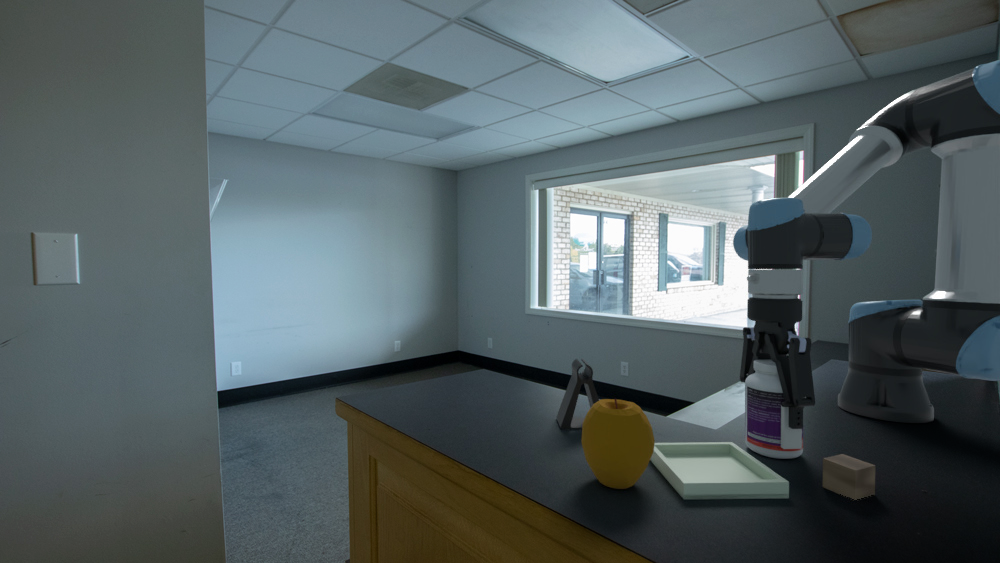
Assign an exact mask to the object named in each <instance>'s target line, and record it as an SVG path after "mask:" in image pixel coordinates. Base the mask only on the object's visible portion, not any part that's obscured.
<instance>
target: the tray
mask: <svg viewBox="0 0 1000 563" xmlns="http://www.w3.org/2000/svg"><path fill="white" fill-rule="evenodd" d="M650 462H651V463H652V464H653V465H654V467H656V469H657V470H658V471H659V472H660V473H661V475H662V476H663V477H664V478H665V480H667V482H668V483H669V484H670V485H671V487H673V489H674V490H675V491H676V492H677V494H678V495H679V496H680V497H681V498H682V499H683V500H753V499H754V500H755V499H756V500H757V499H759V500H760V499H764V500H765V499H766V500H767V499H768V500H769V499H771V500H772V499H790V482H789V480H787V479H786V478H784V477H782V476H781V475H779V474H778V473H777V472H775V471H774V470H772V469H771V468H770V467H769V466H767V465H766V464H764V463H762V462H761V461H760V460H759V459H757V458H755V457H754V456H753V455H751V454H750V453H748V452H747V451H746V450H744V449H743V448H742V447H740V446H738V445H737V444H736V443H734V442H732V441H721V442H719V441H718V442H717V441H716V442H715V441H714V442H713V441H712V442H701V441H700V442H696V441H695V442H655V444H654V452H653V454H652V456H651V459H650Z"/></svg>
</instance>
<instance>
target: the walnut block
mask: <svg viewBox="0 0 1000 563" xmlns="http://www.w3.org/2000/svg"><path fill="white" fill-rule="evenodd" d="M822 488H824V489H826V490H828V491H831V492H833V493H835V494H838V495H840V494H841V495H840V496H842V495H843V496H842V497H845V496H846V497H845V498H847V497H850V498H852V499H854V500H857V499H860V500H862V499H861V498H864V497H867V498H869V497H868V496H870V497H872V496H871V495H874V496H875V495H876V465H875V464H872V463H869V462H867V461H865V460H861V459H858V458H855V457H852V456H850V455H848V454H844V453H841V454H835V455H831V456H828V457H827V456H826V457H823V458H822ZM852 499H851V500H852ZM864 499H865V498H864ZM854 500H853V501H854ZM857 501H858V500H857Z"/></svg>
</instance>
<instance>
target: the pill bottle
mask: <svg viewBox="0 0 1000 563" xmlns="http://www.w3.org/2000/svg"><path fill="white" fill-rule="evenodd" d="M753 368H754V370H755V373H754V374H751V375H749V376H748V377H747V378H746V380H745V383H744V442H745V445H746V446H747V447H748V448H749V450H751V451H752V452H755V453H757V454H758V455H761V456H764V457H768V458H772V459H781V460H782V459H783V460H784V459H785V460H786V459H787V460H788V459H795V458H798V457H800V456H801V455H803V452H804V427H803V428H802V449H783V448H781V403H785V400H784V396H783V392H782V388H781V384H780V380H779V375H778V371H777V367H776V364H775V362H773V361H772V360H754V366H753ZM792 398H793V396H792Z"/></svg>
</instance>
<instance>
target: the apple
mask: <svg viewBox="0 0 1000 563" xmlns="http://www.w3.org/2000/svg"><path fill="white" fill-rule="evenodd" d="M655 443H656V441H655V435H654V432H653V426H652V425H651V422H650V420H649V418H648V416H647V415H646V413H645V412H644V411H643V409H642V408H641V407H640V406H639V405H638V404H636V403H635V402H633V401H627V400H623V399H617V397H615V398H612V399H611V398H602V399H599V401H598V402H596V403H595V404H593V406H592V407H591V408H589V410H588V411H587V413H586V415H585V419H584V421H583V426H582V430H581V445H582V450H583V455H584V459H585V461H586V463H587V464H588V466H589V468H590V470H591V471H592V473H593V475H594V476H595V478H596V479H597V480H598V482H599V483H601V485H603V486H605V487H607V488H608V487H609V488H610V489H615V490H616V489H617V490H618V489H619V490H624V489H628V488H629V489H630V488H631V487H633V486H634V485H635V484H636V483H637V482H638V481H639V480H640V478H641V477H642V475H643V474H644V472H645V471H646V470H647V468H648V465H649V463H650V462H651V460H650V459H651V456H652V454H653V452H654V444H655Z"/></svg>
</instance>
